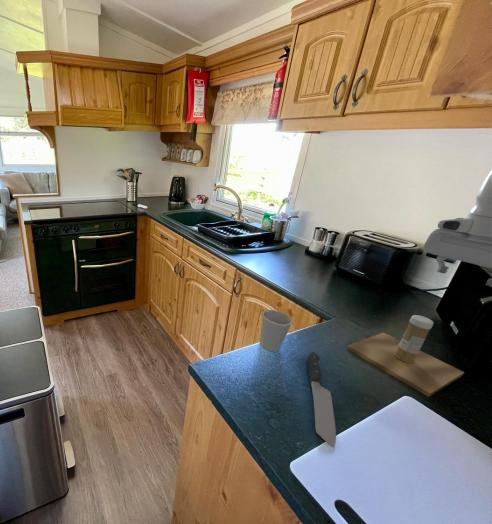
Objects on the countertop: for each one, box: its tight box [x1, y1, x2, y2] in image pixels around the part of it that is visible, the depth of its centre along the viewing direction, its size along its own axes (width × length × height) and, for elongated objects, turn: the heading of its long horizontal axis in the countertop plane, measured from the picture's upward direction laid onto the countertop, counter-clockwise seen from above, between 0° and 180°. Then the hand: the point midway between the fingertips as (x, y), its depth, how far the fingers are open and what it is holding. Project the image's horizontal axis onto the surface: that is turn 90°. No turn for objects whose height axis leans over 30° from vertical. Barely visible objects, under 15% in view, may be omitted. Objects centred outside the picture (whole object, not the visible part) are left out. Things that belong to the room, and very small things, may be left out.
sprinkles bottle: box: [394, 314, 435, 363], centre depth 81 cm, size 5×5×13 cm
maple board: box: [346, 332, 465, 398], centre depth 84 cm, size 20×20×1 cm
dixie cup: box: [259, 309, 294, 352], centre depth 86 cm, size 8×8×10 cm
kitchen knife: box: [306, 351, 337, 448], centre depth 70 cm, size 29×3×5 cm
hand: (464, 278), depth 76 cm, fingers open, 8 cm apart
